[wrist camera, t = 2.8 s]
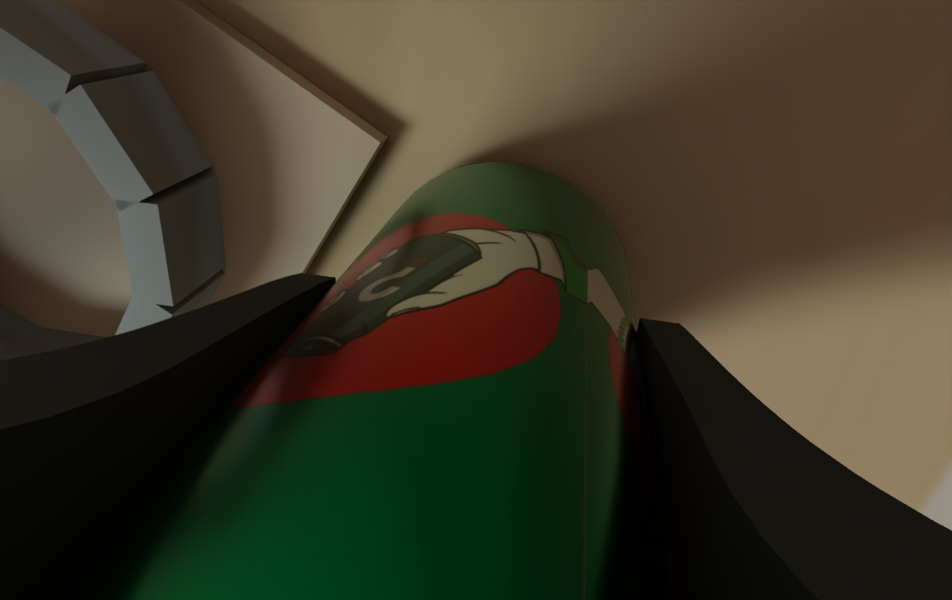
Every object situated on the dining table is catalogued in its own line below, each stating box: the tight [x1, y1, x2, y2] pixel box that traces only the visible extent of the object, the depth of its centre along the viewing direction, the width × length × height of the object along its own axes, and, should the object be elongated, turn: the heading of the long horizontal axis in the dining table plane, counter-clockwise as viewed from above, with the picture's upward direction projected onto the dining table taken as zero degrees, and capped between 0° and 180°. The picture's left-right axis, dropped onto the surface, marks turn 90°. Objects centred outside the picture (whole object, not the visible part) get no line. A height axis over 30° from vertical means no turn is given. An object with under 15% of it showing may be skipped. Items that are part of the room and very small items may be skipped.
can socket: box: [0, 0, 388, 360], centre depth 13 cm, size 11×11×2 cm
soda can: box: [64, 162, 672, 600], centre depth 8 cm, size 5×5×12 cm
